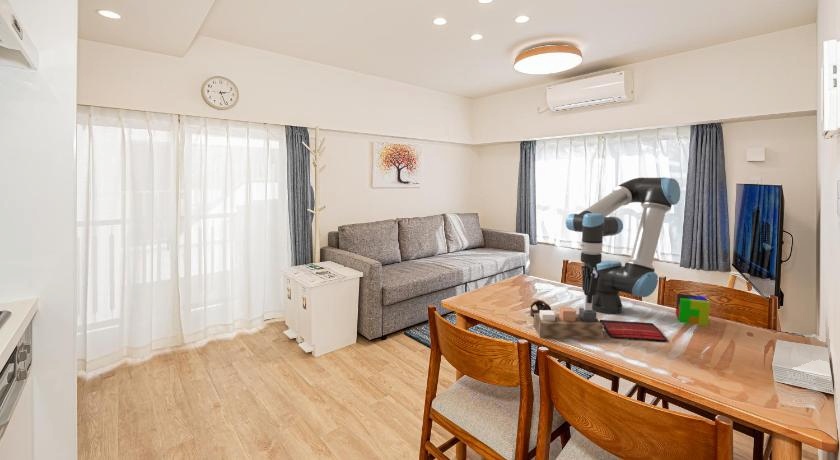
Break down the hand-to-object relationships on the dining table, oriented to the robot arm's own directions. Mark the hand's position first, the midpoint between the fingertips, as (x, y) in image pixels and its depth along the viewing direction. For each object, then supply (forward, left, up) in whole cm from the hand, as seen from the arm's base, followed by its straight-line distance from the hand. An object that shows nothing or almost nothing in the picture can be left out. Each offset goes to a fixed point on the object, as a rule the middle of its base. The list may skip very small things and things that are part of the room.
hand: (587, 309), depth 154 cm
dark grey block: (0, 0, -6) cm, 6 cm away
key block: (+8, 0, -10) cm, 13 cm away
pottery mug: (+14, -19, -10) cm, 26 cm away
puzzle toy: (-51, -17, -10) cm, 55 cm away
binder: (-19, -2, -11) cm, 22 cm away
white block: (+16, 0, -8) cm, 18 cm away
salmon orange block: (+8, 0, -6) cm, 10 cm away
